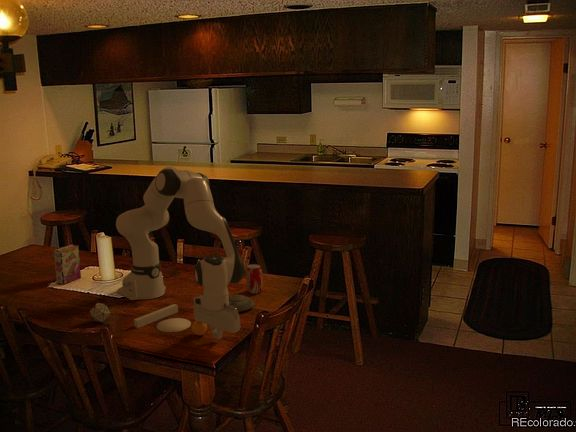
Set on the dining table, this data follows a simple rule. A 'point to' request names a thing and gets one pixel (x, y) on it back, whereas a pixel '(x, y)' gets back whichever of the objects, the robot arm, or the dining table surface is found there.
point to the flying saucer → (241, 302)
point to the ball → (199, 328)
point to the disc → (173, 325)
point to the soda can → (254, 278)
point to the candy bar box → (67, 264)
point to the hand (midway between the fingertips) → (217, 337)
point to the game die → (100, 312)
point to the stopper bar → (155, 315)
